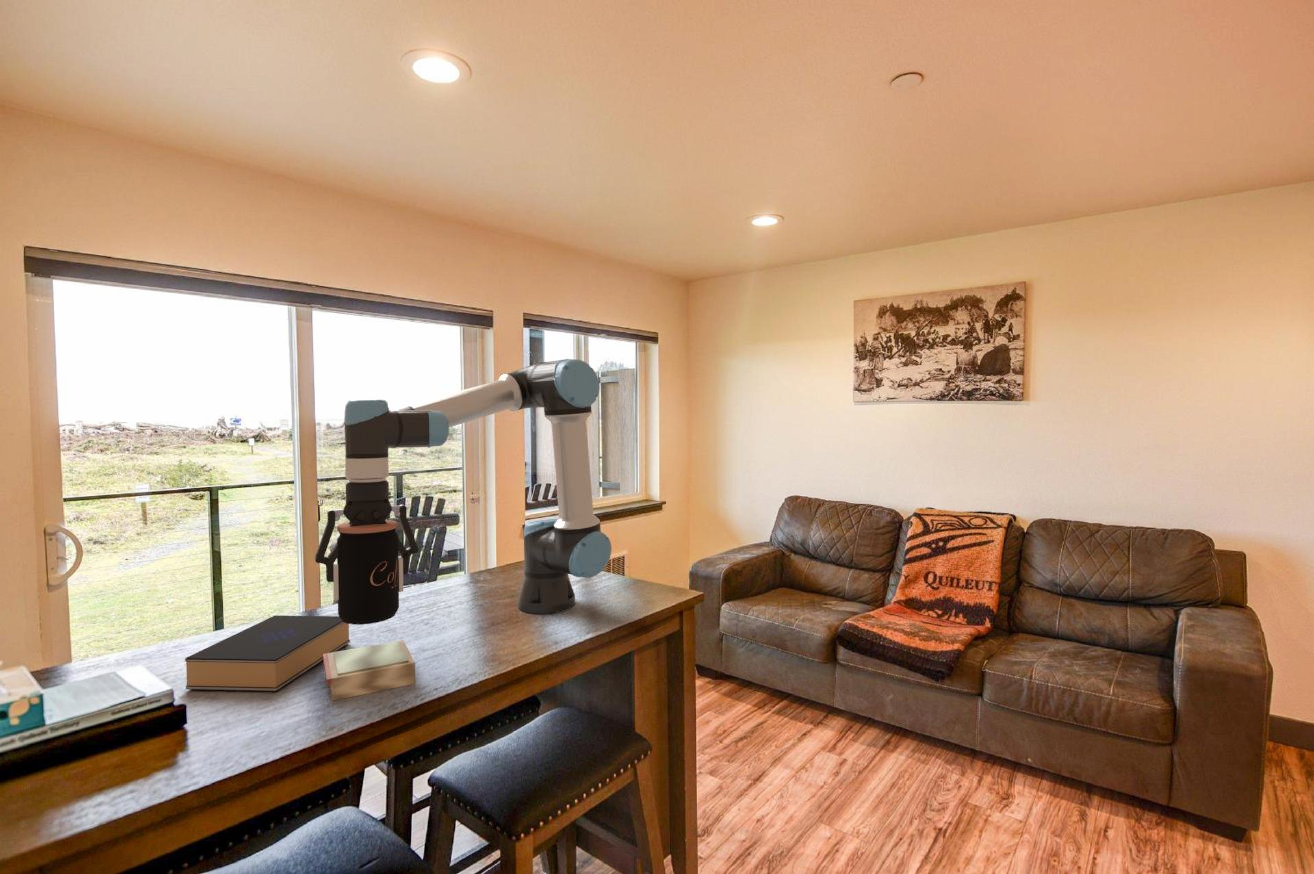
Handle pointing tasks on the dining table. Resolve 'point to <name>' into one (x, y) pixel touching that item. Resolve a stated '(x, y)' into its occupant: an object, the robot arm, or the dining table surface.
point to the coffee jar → (367, 572)
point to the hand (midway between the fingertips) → (368, 594)
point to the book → (266, 654)
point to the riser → (368, 669)
